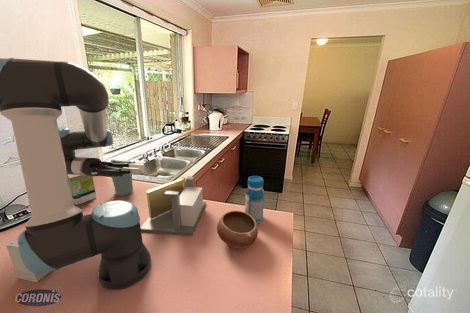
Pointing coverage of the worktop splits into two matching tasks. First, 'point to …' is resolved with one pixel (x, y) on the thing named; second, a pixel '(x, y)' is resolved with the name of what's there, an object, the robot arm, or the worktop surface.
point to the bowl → (237, 229)
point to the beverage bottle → (255, 198)
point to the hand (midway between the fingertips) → (141, 169)
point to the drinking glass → (123, 184)
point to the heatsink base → (167, 224)
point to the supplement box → (21, 264)
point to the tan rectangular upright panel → (157, 199)
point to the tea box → (81, 188)
